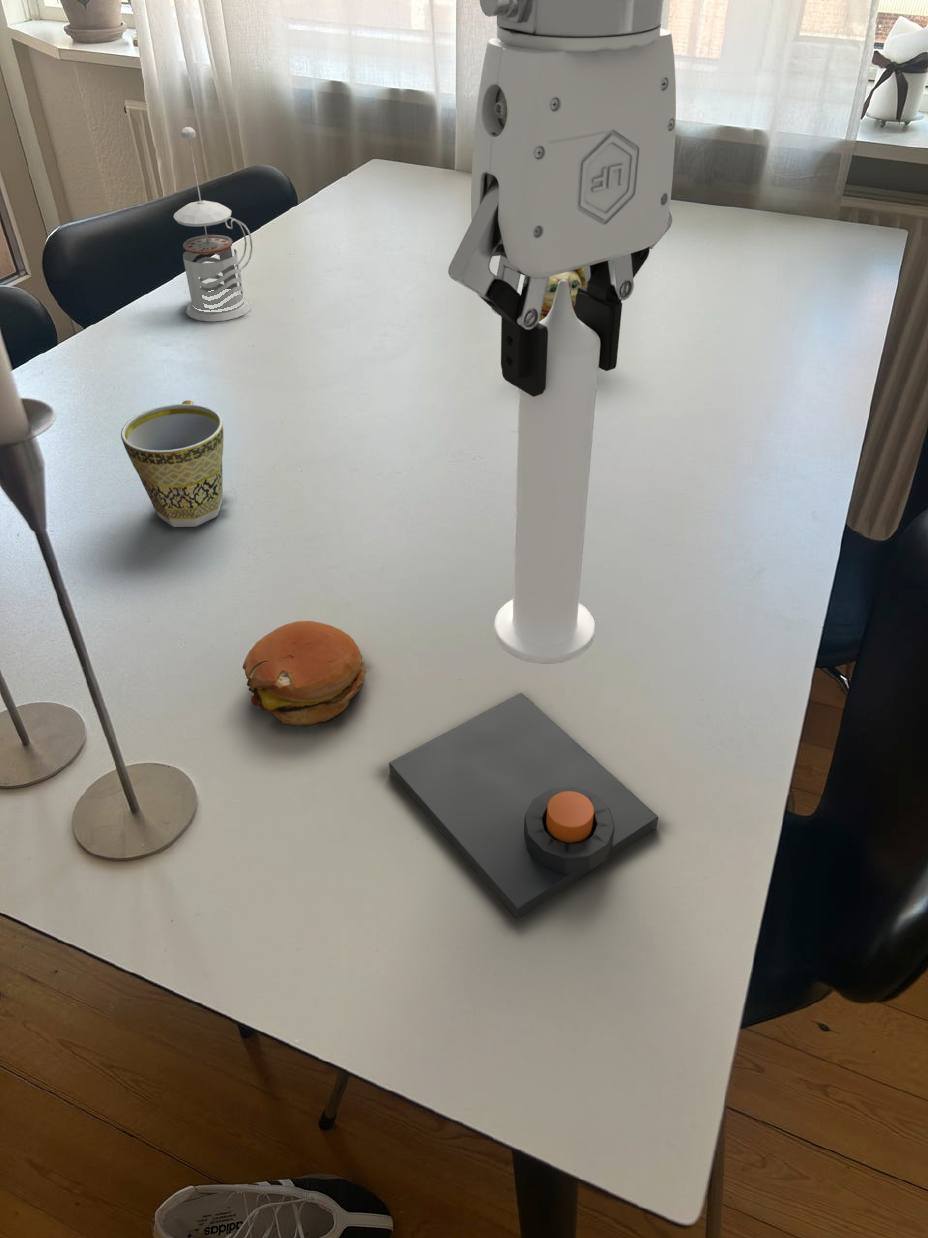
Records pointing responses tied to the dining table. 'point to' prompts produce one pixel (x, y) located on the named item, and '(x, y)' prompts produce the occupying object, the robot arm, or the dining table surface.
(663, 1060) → the dining table surface
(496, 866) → the scale
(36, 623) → the dining table surface
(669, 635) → the dining table surface
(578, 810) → the button
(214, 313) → the french press
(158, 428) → the ceramic cup
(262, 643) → the burger
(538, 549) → the candle
